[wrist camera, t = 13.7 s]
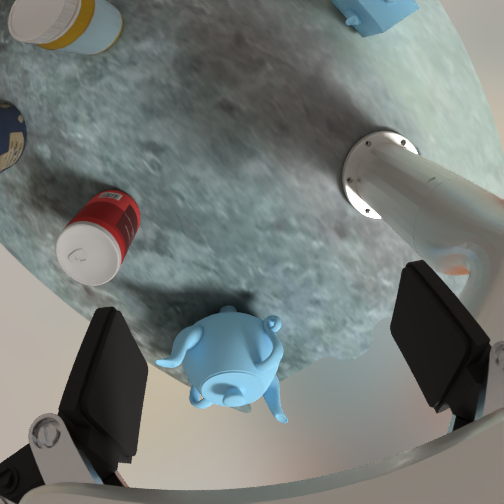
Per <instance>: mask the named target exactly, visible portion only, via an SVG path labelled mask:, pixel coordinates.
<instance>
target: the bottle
mask: <svg viewBox="0 0 504 504" xmlns="http://www.w3.org/2000/svg"><path fill="white" fill-rule="evenodd" d="M8 28H9V32H10V34H11V35H12V37H13V38H15V39H16V40H18V41H20V42H27V43H36V44H37V45H38V46H40V47H42V48H44V49H50V50H58V51H65V52H72V53H78V54H84V55H95V54H99V53H101V52H104V51H106V50H107V49H108V48H110V47H111V46H112V45H113V44H114V43H115V42H116V40H117V39H118V38H119V36H120V34H121V31H122V28H123V18H122V14H121V13H120V11H119V10H118V9H117V8H116V7H115V6H113V5H112V4H110V3H109V2H107V1H106V0H15V2H14V4H13V6H12V8H11V11H10V14H9V18H8Z"/></svg>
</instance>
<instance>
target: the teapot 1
mask: <svg viewBox="0 0 504 504" xmlns="http://www.w3.org/2000/svg"><path fill="white" fill-rule="evenodd" d="M281 325H282V322H281V320H280V318H279V317H277V316H269V317H267V318H266V319H265V320H264V321H263V320H261V319H259V318H257V317H254V316H252V315H249V314H245V313H240V312H237V310H236V308H235V307H233V306H224V307H222V308H221V309H220V313H217V314H213V315H210V316H208V317H205V318H203V319H201V320H199V321H198V322H196V323H195V324H194V325H192V326H189V327H187V328H184V329H183V330H182V331H181V332H180V333H179V334H178V335H177V336H176V338H175V340H174V343H173V347H172V352H171V355H170V356H169V357H168V358H164V359H159V360H156V361H155V362H156V364H158V365H160V366H163V367H168V368H173V367H177V366H178V365H180V364H181V362H182V364H183V368H184V370H185V373H186V375H187V377H188V381H189V382H190V384H192V386H191V390H190V397H189V399H190V402H191V404H192V405H193V406H195V407H196V408H200V409H204V408H207V407H209V406H210V405H211V404H212V403H214V404H217V405H221V406H229V407H236V406H242V405H246V404H249V403H252V402H254V401H255V400H257V399H258V398H260V397H261V396H262V395H263V397H264V399H265V401H266V402H267V405H268V407H269V409H270V411H271V412H272V414H273V416H274V417H275V418H276V419H277V420H278V421H280V422H282V423H287V422H288V419H287V418H286V416H285V415H284V413H283V411H282V408H281V404H280V386H279V381H278V378H277V376H276V372H277V369H278V365H279V361H280V360H281V358H282V356H283V347H282V344H281V342H280V340H279V338H278V336H277V334H276V333H275V332H276V331H278V330H279V329H280V328H281ZM200 394H201V395H202V396H203V397H204V398H203V399H202V400H200V401H199V397H200Z"/></svg>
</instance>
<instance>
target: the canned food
mask: <svg viewBox="0 0 504 504" xmlns="http://www.w3.org/2000/svg"><path fill="white" fill-rule="evenodd" d="M139 225H140V211H139V208H138V206H137V204H136V202H135V201H134V199H133V198H132V197H131V196H129V195H128V194H126V193H125V192H122V191H118V190H107V191H103V192H101V193H99V194H97V195H96V196H94V197H93V198H92V199H91V200H90V201H89V202H88V203H87V204H86V205H85V206H84V207H83V208H82V209H81V210H80V212H79V213H78V214H77V215H76V216H75V217H74V218H73V219H72V220H71V221H70V222H69V223H68V224H67V226H66V227H65V228H64V229H63V230H62V232H61V233H60V235H59V236H58V239H57V241H56V247H55V250H56V257H57V260H58V262H59V265H60V266H61V268H62V269H63V270H64V272H65V273H66V274H67V275H68V276H70V277H71V278H72V279H74V280H76V281H77V282H80V283H82V284H86V285H101V284H104V283H107V282H108V281H110V280H111V279H112V278H113V277H114V276H115V275H116V273H117V272H118V270H119V268H120V266H121V264H122V262H123V260H124V258H125V256H126V253H127V251H128V249H129V247H130V245H131V243H132V241H133V239H134V236H135V234H136V232H137V230H138V228H139Z"/></svg>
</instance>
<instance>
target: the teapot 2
mask: <svg viewBox="0 0 504 504" xmlns="http://www.w3.org/2000/svg"><path fill="white" fill-rule="evenodd" d="M331 2H332V3H333V4H334V5H335V6H336V7H337V8H338V9H339V10H340V12H341V13H342V14H343V15H344V16H345V17H346V19H347V20H346V25H348V26H350V25H353V26H354V28H355V29H356V30H357V31H358V33H359V34H360V35H361V36H362V37H366V36H370V35H374V34H379V33H383V32H385V31H386V30H387V29H389V28H390V27H392V26H393V25H395V24H396V23H398V22H399V21H401V20H402V19H404V18H405V17H407V16H408V15H410V14H411V13H413V12H415V11H416V10H418V9H419V8H420V7H419V6H418V5H417V4H416V2H415V1H414V0H332V1H331Z"/></svg>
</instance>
